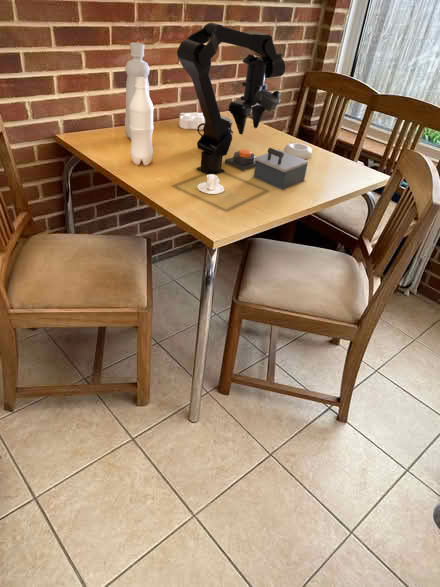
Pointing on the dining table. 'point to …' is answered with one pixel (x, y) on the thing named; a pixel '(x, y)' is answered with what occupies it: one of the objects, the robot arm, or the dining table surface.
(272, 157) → the grey box lid
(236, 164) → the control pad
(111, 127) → the dining table surface
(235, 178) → the dining table surface
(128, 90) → the bottle
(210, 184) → the teacup and saucer
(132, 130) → the water bottle
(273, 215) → the dining table surface
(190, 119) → the white egg tray
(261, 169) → the dark grey case
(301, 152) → the donut
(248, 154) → the button
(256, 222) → the dining table surface
